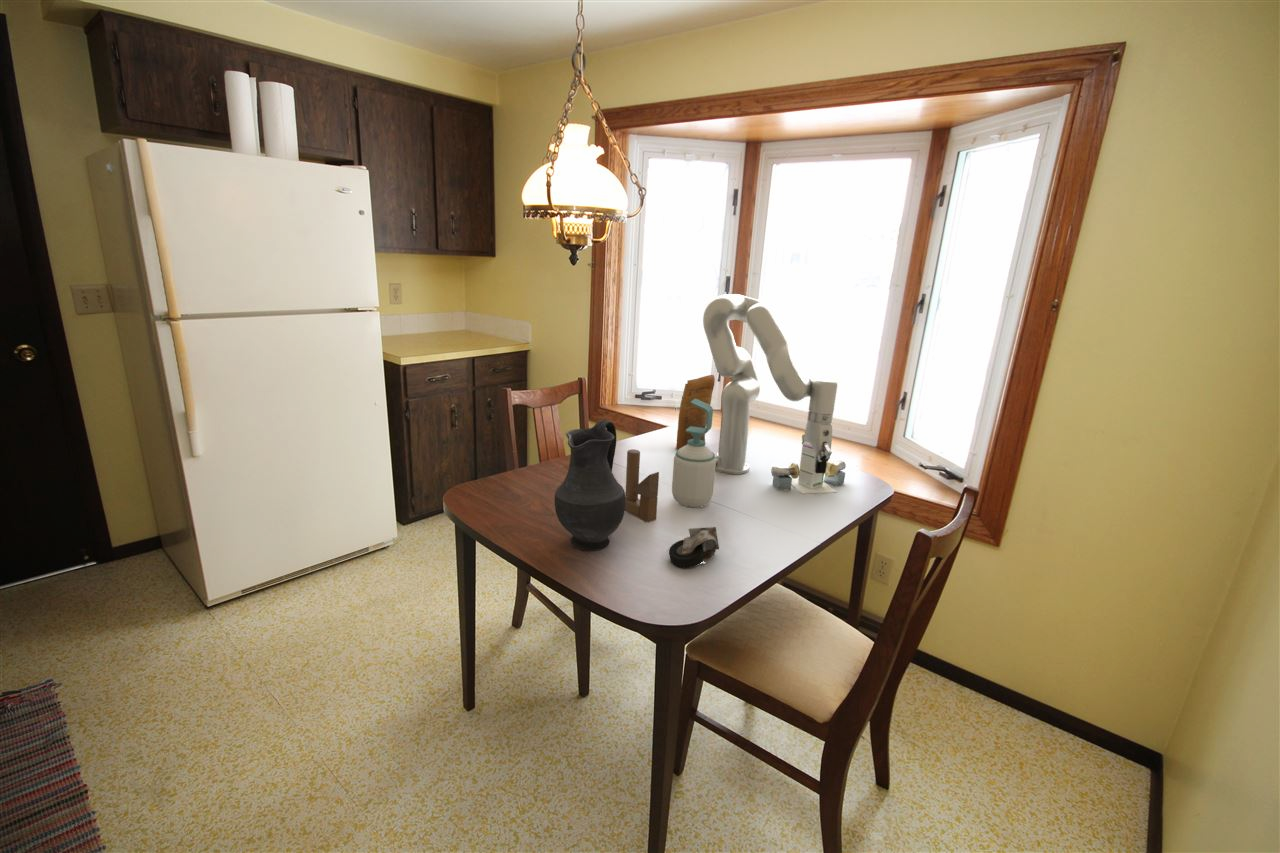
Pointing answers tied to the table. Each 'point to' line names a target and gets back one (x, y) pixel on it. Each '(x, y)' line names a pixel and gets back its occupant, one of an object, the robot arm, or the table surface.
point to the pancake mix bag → (693, 408)
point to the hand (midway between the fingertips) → (812, 467)
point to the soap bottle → (695, 466)
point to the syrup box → (809, 468)
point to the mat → (805, 490)
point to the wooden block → (640, 490)
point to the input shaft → (784, 476)
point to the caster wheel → (694, 548)
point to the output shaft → (835, 473)
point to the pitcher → (591, 488)
